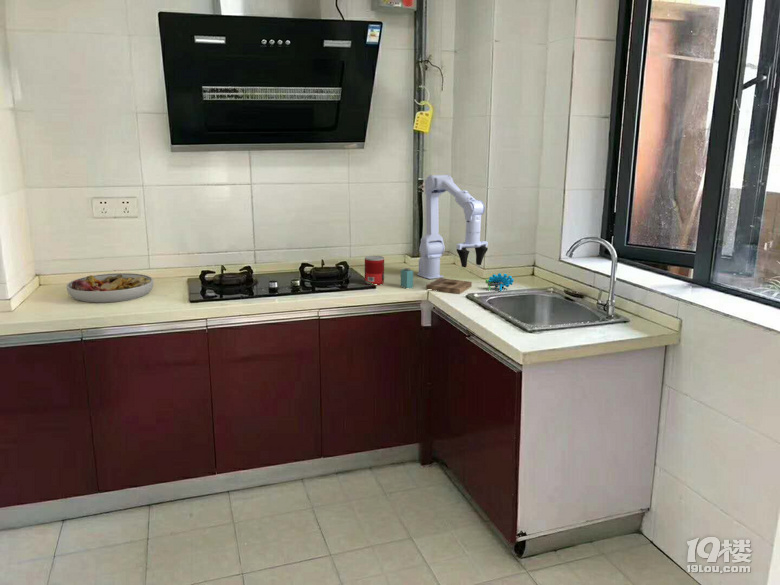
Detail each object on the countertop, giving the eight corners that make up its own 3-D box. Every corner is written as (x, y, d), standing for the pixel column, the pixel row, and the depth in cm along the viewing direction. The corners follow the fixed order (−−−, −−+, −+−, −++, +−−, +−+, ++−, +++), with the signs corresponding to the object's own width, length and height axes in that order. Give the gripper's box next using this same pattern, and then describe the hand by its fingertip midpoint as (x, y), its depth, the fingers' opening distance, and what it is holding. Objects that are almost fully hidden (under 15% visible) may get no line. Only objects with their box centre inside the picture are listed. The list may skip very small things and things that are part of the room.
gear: (514, 284, 261) (512, 271, 253) (514, 297, 258) (511, 283, 250) (487, 285, 264) (484, 272, 256) (487, 298, 261) (483, 285, 253)
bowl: (118, 281, 262) (116, 262, 260) (171, 291, 248) (169, 271, 246) (49, 297, 237) (47, 277, 235) (105, 309, 223) (102, 287, 221)
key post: (400, 286, 261) (401, 268, 259) (406, 285, 263) (407, 267, 261) (406, 288, 258) (407, 270, 256) (412, 287, 259) (413, 269, 257)
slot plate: (426, 289, 257) (426, 284, 256) (439, 282, 269) (439, 277, 268) (459, 294, 251) (459, 289, 250) (471, 286, 263) (471, 281, 262)
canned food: (386, 284, 264) (387, 258, 261) (368, 286, 261) (368, 259, 258) (380, 280, 270) (380, 255, 268) (362, 282, 268) (362, 256, 265)
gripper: (465, 234, 244) (463, 269, 247) (493, 231, 252) (491, 265, 255) (453, 232, 249) (452, 266, 253) (481, 229, 257) (479, 262, 261)
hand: (471, 265), depth 254 cm, fingers open, 7 cm apart
